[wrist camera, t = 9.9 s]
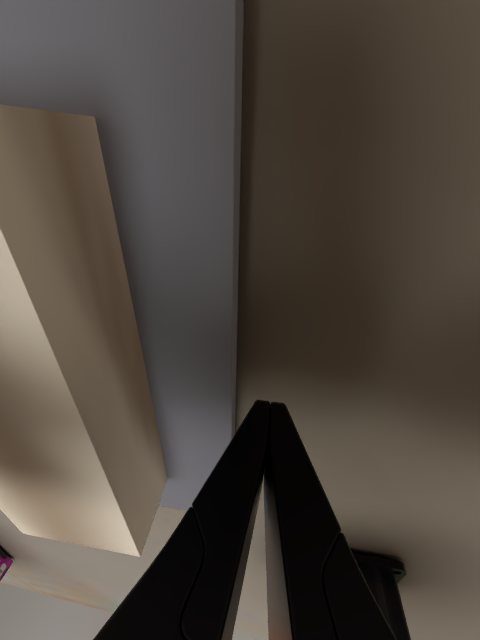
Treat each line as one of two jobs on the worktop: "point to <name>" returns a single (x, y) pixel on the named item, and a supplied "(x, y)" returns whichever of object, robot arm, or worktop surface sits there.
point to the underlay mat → (157, 186)
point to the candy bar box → (4, 563)
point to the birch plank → (69, 345)
